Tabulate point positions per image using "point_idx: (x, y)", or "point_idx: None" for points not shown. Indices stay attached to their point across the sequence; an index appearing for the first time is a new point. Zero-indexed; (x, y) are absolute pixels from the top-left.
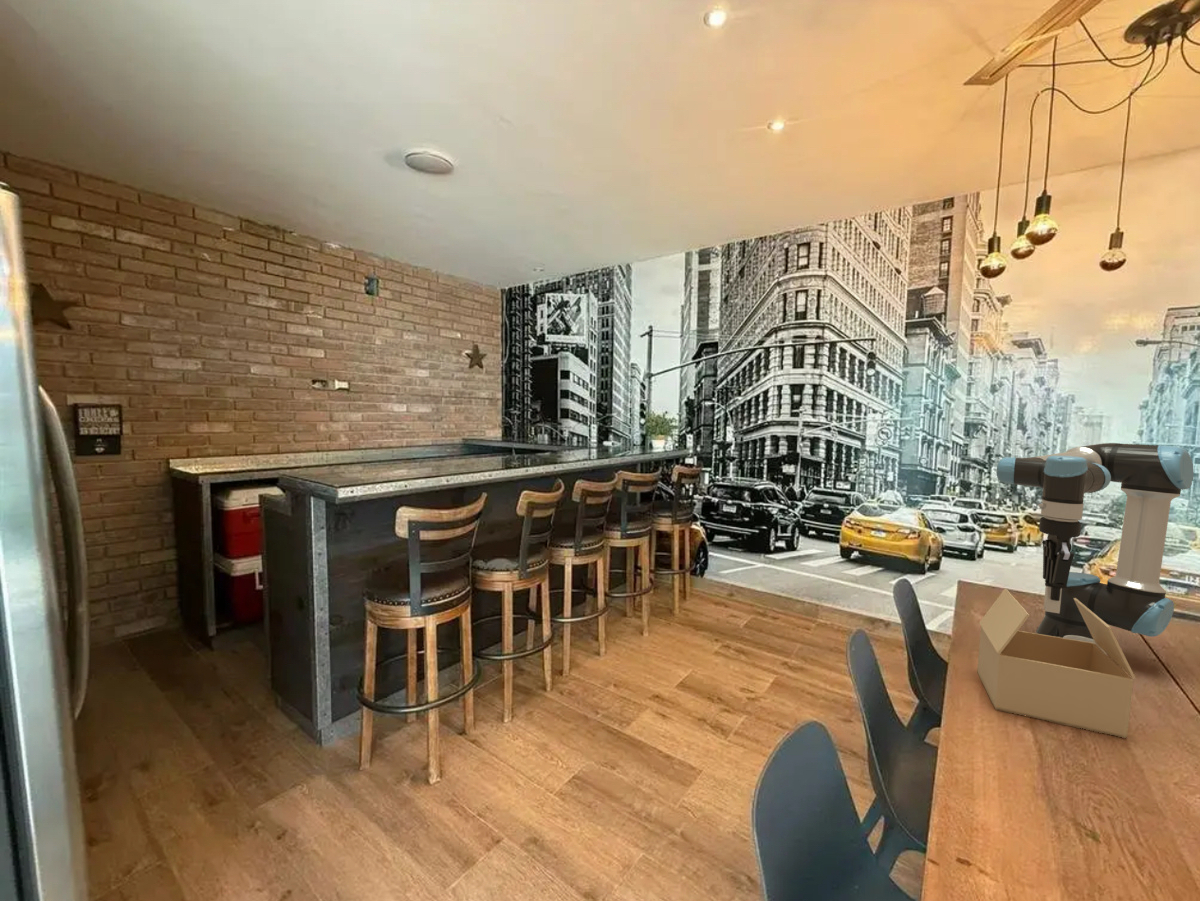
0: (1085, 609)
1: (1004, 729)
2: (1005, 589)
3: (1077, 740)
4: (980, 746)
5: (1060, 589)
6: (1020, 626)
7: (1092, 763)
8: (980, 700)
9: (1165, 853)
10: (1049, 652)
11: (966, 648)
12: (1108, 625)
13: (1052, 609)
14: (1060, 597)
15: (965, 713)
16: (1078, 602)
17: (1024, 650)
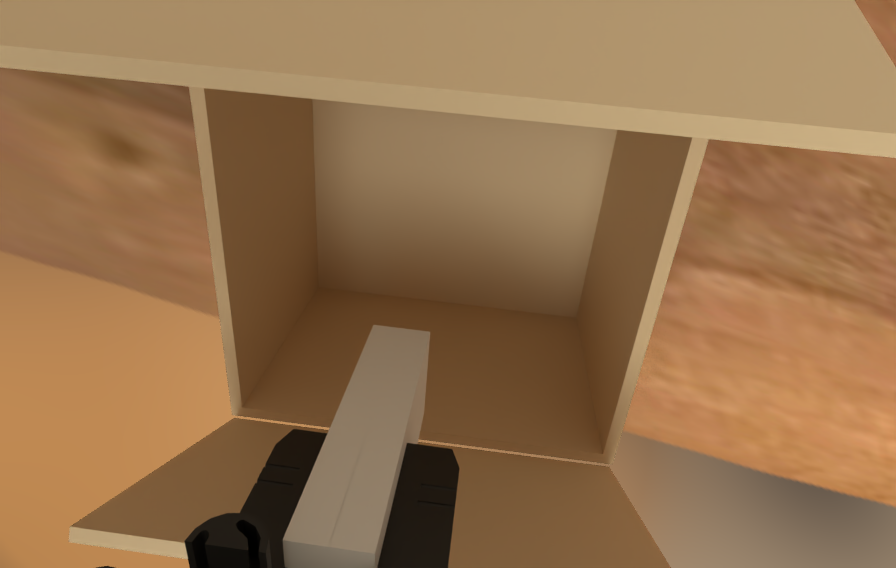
0: (266, 83)
1: (701, 335)
2: (93, 543)
3: (721, 142)
4: (809, 421)
5: (377, 538)
6: (662, 557)
7: (860, 159)
8: None
9: None
10: (252, 108)
11: (105, 261)
12: (892, 134)
13: (423, 392)
14: (399, 445)
15: (633, 404)
16: (60, 72)
17: (265, 207)
